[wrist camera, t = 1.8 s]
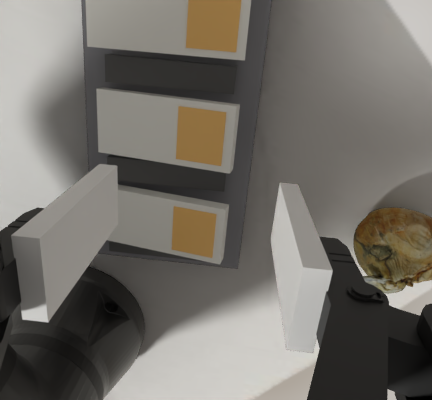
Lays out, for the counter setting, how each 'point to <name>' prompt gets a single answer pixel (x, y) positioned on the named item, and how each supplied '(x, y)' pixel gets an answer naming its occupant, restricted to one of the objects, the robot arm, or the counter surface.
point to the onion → (394, 248)
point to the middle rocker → (167, 129)
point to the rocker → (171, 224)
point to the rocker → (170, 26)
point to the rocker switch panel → (189, 88)
